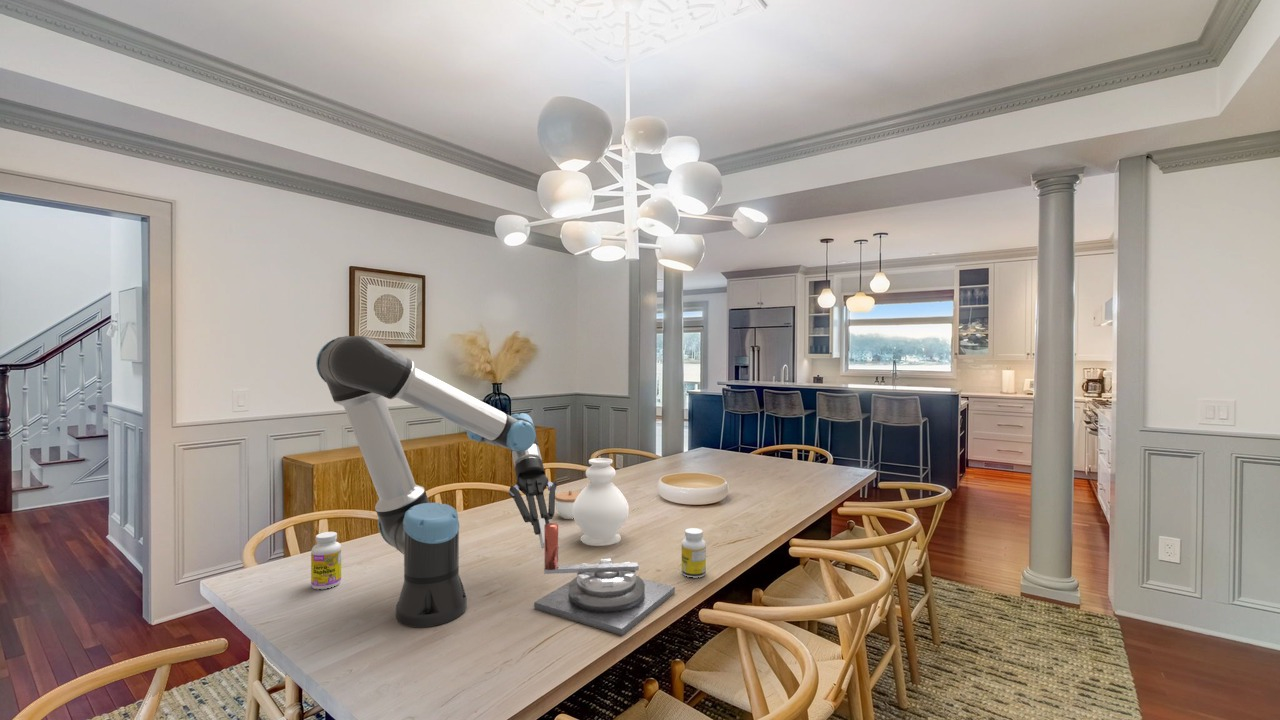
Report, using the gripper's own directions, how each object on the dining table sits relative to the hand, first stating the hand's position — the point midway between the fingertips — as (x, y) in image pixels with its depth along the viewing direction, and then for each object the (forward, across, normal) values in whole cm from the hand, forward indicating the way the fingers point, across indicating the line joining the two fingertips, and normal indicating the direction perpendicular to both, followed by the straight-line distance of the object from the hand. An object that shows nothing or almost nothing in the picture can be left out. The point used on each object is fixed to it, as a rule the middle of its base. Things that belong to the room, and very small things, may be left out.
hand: (545, 545), depth 136 cm
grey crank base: (+15, -12, -2) cm, 20 cm away
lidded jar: (-33, -26, -50) cm, 65 cm away
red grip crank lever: (+12, -9, 0) cm, 15 cm away
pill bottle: (+12, -39, -5) cm, 41 cm away
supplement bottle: (-12, +49, -29) cm, 58 cm away
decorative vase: (-14, -27, -31) cm, 43 cm away
